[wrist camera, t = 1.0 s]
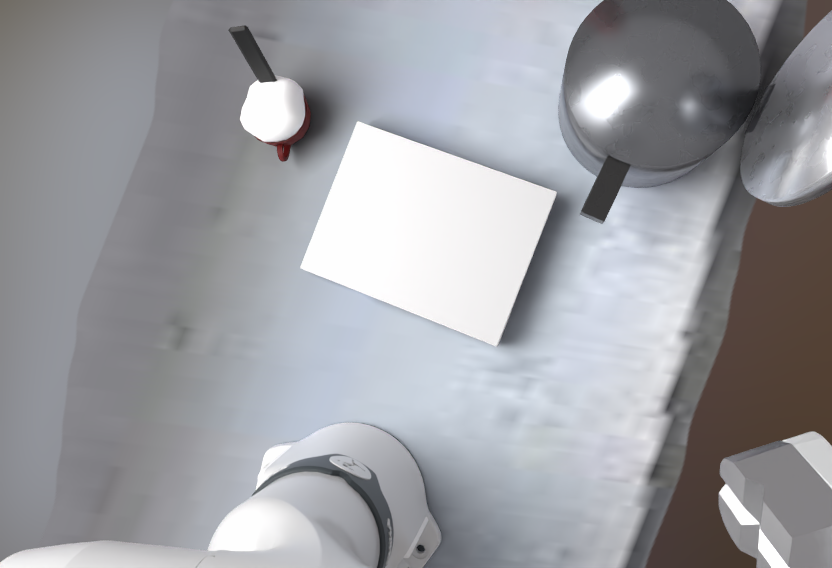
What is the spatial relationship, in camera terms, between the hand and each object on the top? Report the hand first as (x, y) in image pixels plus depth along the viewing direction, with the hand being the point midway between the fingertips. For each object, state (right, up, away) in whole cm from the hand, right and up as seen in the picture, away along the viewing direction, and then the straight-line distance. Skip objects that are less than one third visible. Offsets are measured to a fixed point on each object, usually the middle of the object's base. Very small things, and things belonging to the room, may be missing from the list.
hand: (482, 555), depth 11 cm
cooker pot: (+19, +18, +56) cm, 62 cm away
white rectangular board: (0, +9, +59) cm, 59 cm away
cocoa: (-14, +21, +61) cm, 66 cm away
